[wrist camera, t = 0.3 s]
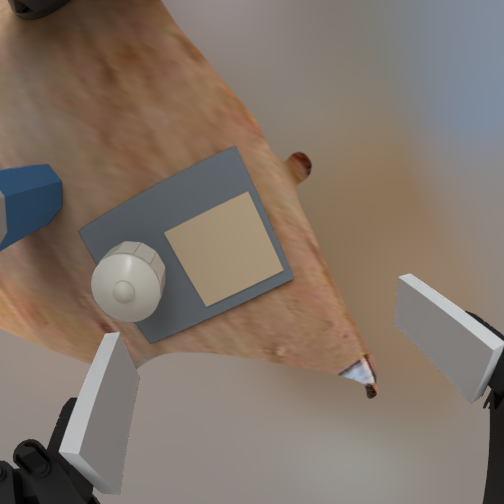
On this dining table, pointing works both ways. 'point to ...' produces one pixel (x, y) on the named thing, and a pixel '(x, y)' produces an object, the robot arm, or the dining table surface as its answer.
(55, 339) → the dining table surface
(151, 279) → the cap
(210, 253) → the board
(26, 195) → the water bottle
